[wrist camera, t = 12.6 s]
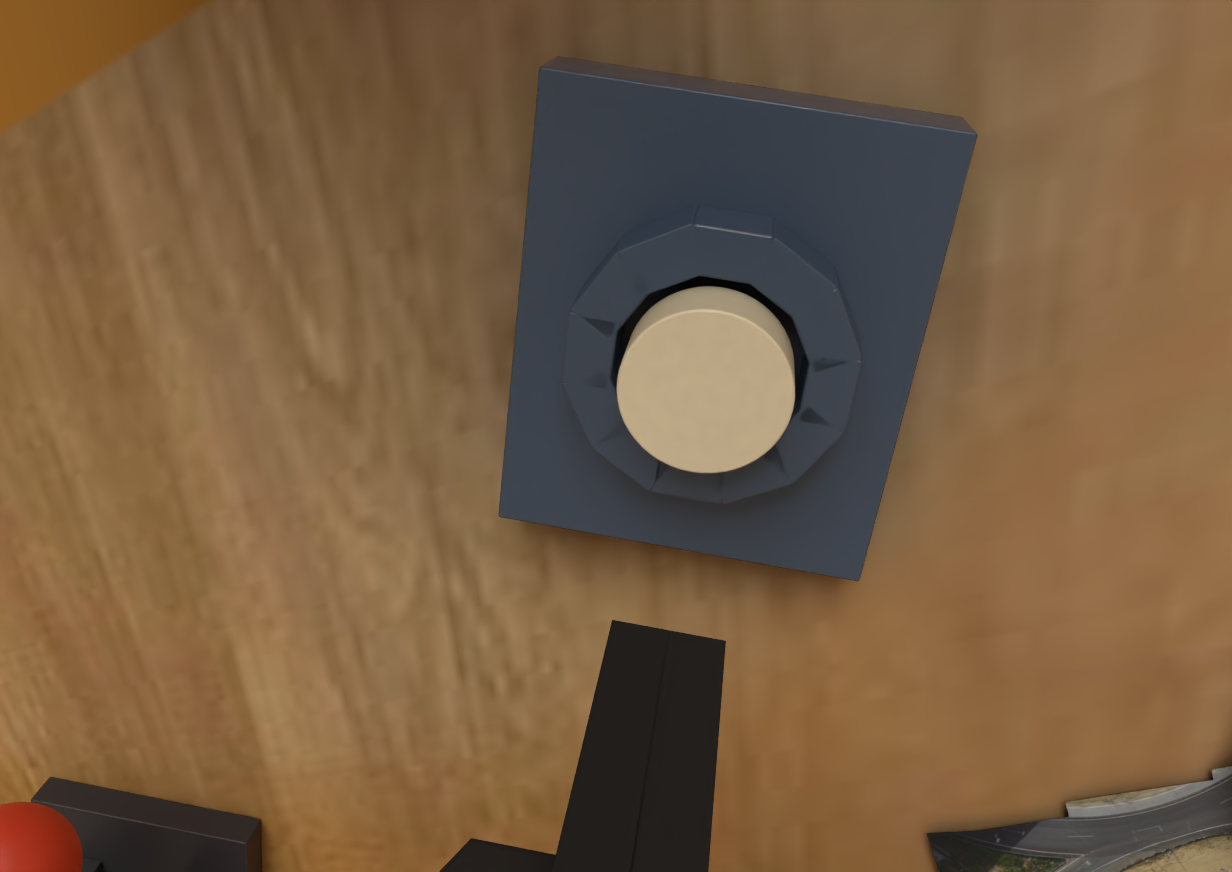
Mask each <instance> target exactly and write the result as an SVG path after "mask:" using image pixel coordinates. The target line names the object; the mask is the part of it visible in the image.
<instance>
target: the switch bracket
mask: <svg viewBox="0 0 1232 872" xmlns="http://www.w3.org/2000/svg"><path fill="white" fill-rule="evenodd" d="M31 803H38V804H41V805H45V806H47V807H50V808H52V809H54V810H56V811H57V812H59V813H60V814H62V815H63V816H64V817H65V818H66V819H67V820H68V821H69V822H70V823H71V825H72V826H73V827H74V829H75V831H76V832H77V834H78V837H79V839H80V843H81V847H82V854H83V862H82V870H81V872H261V824H260V819H257V818H252V817H247V816H242V815H237V814H232V813H227V812H222V811H217V810H212V809H207V808H202V807H197V806H192V805H187V804H182V803H177V802H172V801H167V800H162V799H157V798H152V797H147V796H142V795H137V794H132V793H127V792H122V791H117V790H112V789H107V788H102V787H97V786H93V785H88V784H83V783H78V782H73V781H68V780H63V779H58V778H53V777H50V778H49V779H48V780H47V781H46V783H45V784H44V785H43V786H42V787H41V788H40V790H39V791H38V792H37V793H36V794H35V795H34V797H33V798H32V799H31Z"/></svg>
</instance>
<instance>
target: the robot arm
mask: <svg viewBox="0 0 1232 872" xmlns="http://www.w3.org/2000/svg"><path fill="white" fill-rule="evenodd" d="M725 643H726V641H723V640H718V639H713V638H707V637H702V636H696V635H691V634H685V633H680V632H675V631H669V630H664V629H658V628H653V627H648V626H642V625H637V624H631V623H626V622H620V621H615V620H612V623H611V628H610V632H609V636H608V640H607V644H606V648H605V653H604V657H603V661H602V665H601V669H600V674H599V678H598V682H597V686H596V690H595V694H594V699H593V703H592V707H591V711H590V715H589V719H588V724H587V728H586V732H585V736H584V740H583V744H582V749H581V753H580V757H579V761H578V765H577V770H576V774H575V778H574V782H573V786H572V790H571V795H570V799H569V803H568V807H567V811H566V815H565V820H564V824H563V828H562V832H561V836H560V840H559V845H558V849H557V853H556V855H553V854H548V853H543V852H538V851H533V850H528V849H523V848H518V847H513V846H508V845H503V844H498V843H493V842H488V841H483V840H478V839H473V838H471V839H470V840H469V841H468V842H467V843H466V844H465V845H464V846H463V847H462V849H461V850H460V851H459V852H458V853H457V854H456V855H455V856H454V857H453V858H452V859H451V860H450V861H449V862H448V863H447V864H446V865H445V866H444V867H443V868H442V869H441V870H440V872H708V867H709V854H710V841H711V828H712V815H713V802H714V788H715V775H716V762H717V749H718V736H719V722H720V709H721V696H722V683H723V670H724V657H725Z"/></svg>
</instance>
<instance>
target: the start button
mask: <svg viewBox="0 0 1232 872" xmlns="http://www.w3.org/2000/svg"><path fill="white" fill-rule="evenodd" d="M616 390H617V401H618V406H619V410H620V413H621V416H622V419H623V421H624V423H625V425H626V427H627V429H628V430H629V432H630V433H631V435H632V436H633V438H634V439H635V440H636V441H637V442H638V443H639V444H640V446H641V447H642V448H643V449H645V450H646V451H647V452H648V453H649V454H651V455H652V456H654V457H655V458H657V459H658V460H660V461H662V462H663V463H665V464H667V465H669V466H672V467H675V468H678V469H681V470H685V471H689V472H696V473H720V472H726V471H730V470H734V469H737V468H740V467H743V466H745V465H747V464H749V463H751V462H753V461H755V460H757V459H758V458H760V457H761V456H762V455H764V454H765V453H766V452H767V451H769V450H770V449H771V448H772V447H773V446H774V445H775V444H776V442H777V441H778V440H779V439H780V438H781V436H782V434H783V433H784V431H785V430H786V428H787V426H788V423H789V421H790V419H791V415H792V412H793V408H794V401H795V371H794V356H793V350H792V346H791V343H790V340H789V338H788V335H787V333H786V331H785V329H784V328H783V326H782V325H781V323H780V321H779V320H778V319H777V318H776V317H775V315H774V314H773V313H772V312H771V311H770V310H769V309H768V308H766V307H765V306H764V305H763V304H761V303H760V302H759V301H757V300H756V299H754V298H752V297H750V296H748V295H746V294H744V293H741V292H739V291H736V290H732V289H728V288H724V287H714V286H702V287H694V288H688V289H685V290H681V291H678V292H676V293H673V294H671V295H669V296H667V297H665V298H664V299H662V300H660V301H659V302H657V303H656V304H655V305H654V306H652V307H651V308H650V309H649V310H648V311H647V312H646V313H645V314H644V315H643V316H642V318H641V319H640V321H639V322H638V323H637V325H636V327H635V329H634V330H633V332H632V334H631V337H630V340H629V343H628V346H627V348H626V351H625V354H624V357H623V359H622V362H621V365H620V368H619V372H618V377H617V389H616Z"/></svg>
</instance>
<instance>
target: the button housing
mask: <svg viewBox="0 0 1232 872" xmlns="http://www.w3.org/2000/svg"><path fill="white" fill-rule="evenodd" d="M976 139H977V133H976V132H975V130H974V129H973V128H972V127H971V126H970V125H969V124H968V123H967V122H966V121H965V120H964V118H962V117H957V116H951V115H944V114H937V113H931V112H924V111H917V110H911V109H904V108H897V107H891V106H884V105H878V104H871V103H864V102H858V101H851V100H844V99H838V98H831V97H825V96H818V95H811V94H805V93H798V92H791V91H785V90H778V89H771V88H765V87H758V86H752V85H745V84H738V83H732V82H725V81H718V80H712V79H705V78H699V77H692V76H685V75H679V74H672V73H665V72H659V71H652V70H645V69H639V68H632V67H626V66H619V65H612V64H606V63H599V62H592V61H586V60H579V59H572V58H566V57H559V56H558V57H556V58H554V59H552V60H551V61H549V62H548V63H546V64H544V65H543V66H541V67H540V68H539V77H538V88H537V99H536V110H535V121H534V132H533V143H532V154H531V165H530V176H529V187H528V198H527V209H526V219H525V230H524V241H523V252H522V263H521V274H520V285H519V296H518V307H517V318H516V329H515V340H514V351H513V362H512V372H511V383H510V394H509V405H508V416H507V427H506V438H505V449H504V460H503V471H502V482H501V493H500V504H499V514H498V515H499V517H504V518H509V519H515V520H520V521H526V522H531V523H537V524H543V525H548V526H554V527H559V528H565V529H570V530H576V531H581V532H587V533H593V534H598V535H604V536H609V537H615V538H620V539H626V540H632V541H637V542H643V543H648V544H654V545H659V546H665V547H671V548H676V549H682V550H687V551H693V552H698V553H704V554H710V555H715V556H721V557H726V558H732V559H737V560H743V561H748V562H754V563H760V564H765V565H771V566H776V567H782V568H787V569H793V570H799V571H804V572H810V573H815V574H821V575H826V576H832V577H838V578H843V579H849V580H854V581H859V580H860V576H861V572H862V569H863V565H864V561H865V557H866V554H867V550H868V546H869V542H870V539H871V535H872V531H873V527H874V523H875V520H876V516H877V512H878V508H879V505H880V501H881V497H882V493H883V489H884V486H885V482H886V478H887V474H888V471H889V467H890V463H891V459H892V456H893V452H894V448H895V444H896V440H897V437H898V433H899V429H900V425H901V422H902V418H903V414H904V410H905V406H906V403H907V399H908V395H909V391H910V388H911V384H912V380H913V376H914V373H915V369H916V365H917V361H918V357H919V354H920V350H921V346H922V342H923V339H924V335H925V331H926V327H927V323H928V320H929V316H930V312H931V308H932V305H933V301H934V297H935V293H936V290H937V286H938V282H939V278H940V274H941V271H942V267H943V263H944V259H945V256H946V252H947V248H948V244H949V240H950V237H951V233H952V229H953V225H954V222H955V218H956V214H957V210H958V206H959V203H960V199H961V195H962V191H963V188H964V184H965V180H966V176H967V173H968V169H969V165H970V161H971V157H972V154H973V150H974V146H975V142H976ZM702 286H714V287H724V288H728V289H732V290H736V291H739V292H741V293H744V294H746V295H748V296H750V297H752V298H754V299H756V300H757V301H759V302H760V303H761V304H763V305H764V306H765V307H766V308H768V309H769V310H770V311H771V312H772V313H773V314H774V315H775V317H776V318H777V319H778V320H779V321H780V323H781V325H782V326H783V328H784V329H785V331H786V333H787V335H788V338H789V340H790V343H791V346H792V350H793V356H794V371H795V401H794V408H793V412H792V415H791V419H790V421H789V423H788V426H787V428H786V430H785V431H784V433H783V434H782V436H781V438H780V439H779V440H778V441H777V442H776V444H775V445H774V446H773V447H772V448H771V449H770V450H769V451H767V452H766V453H765V454H764V455H762V456H761V457H760V458H758V459H757V460H755V461H753V462H751V463H749V464H747V465H745V466H743V467H740V468H737V469H734V470H730V471H726V472H720V473H696V472H689V471H685V470H681V469H678V468H675V467H672V466H669V465H667V464H665V463H663V462H662V461H660V460H658V459H657V458H655V457H654V456H652V455H651V454H649V453H648V452H647V451H646V450H645V449H643V448H642V447H641V446H640V444H639V443H638V442H637V441H636V440H635V439H634V438H633V436H632V435H631V433H630V432H629V430H628V429H627V427H626V425H625V423H624V421H623V419H622V416H621V413H620V410H619V406H618V401H617V390H616V389H617V377H618V372H619V368H620V365H621V362H622V359H623V357H624V354H625V351H626V348H627V346H628V343H629V340H630V337H631V334H632V332H633V330H634V329H635V327H636V325H637V323H638V322H639V321H640V319H641V318H642V316H643V315H644V314H645V313H646V312H647V311H648V310H649V309H650V308H651V307H652V306H654V305H655V304H656V303H657V302H659V301H660V300H662V299H664V298H665V297H667V296H669V295H671V294H673V293H676V292H678V291H681V290H685V289H688V288H694V287H702Z"/></svg>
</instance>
